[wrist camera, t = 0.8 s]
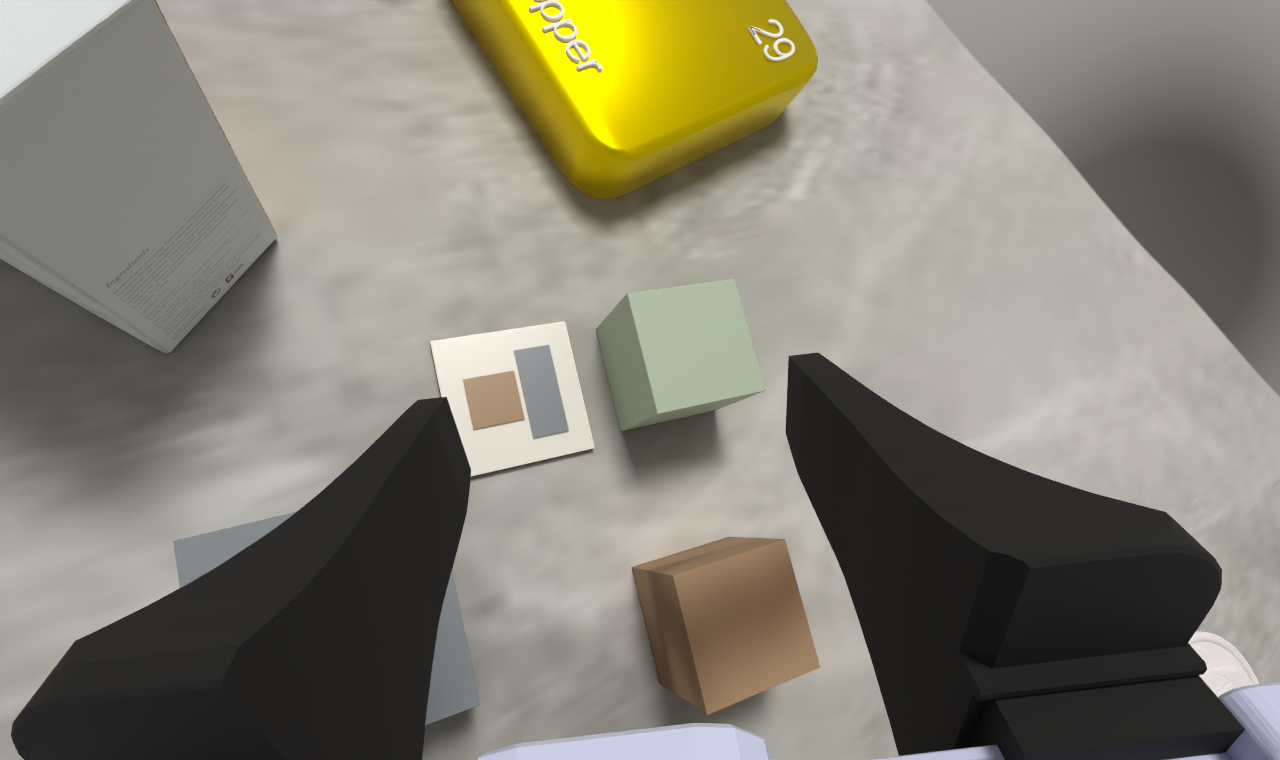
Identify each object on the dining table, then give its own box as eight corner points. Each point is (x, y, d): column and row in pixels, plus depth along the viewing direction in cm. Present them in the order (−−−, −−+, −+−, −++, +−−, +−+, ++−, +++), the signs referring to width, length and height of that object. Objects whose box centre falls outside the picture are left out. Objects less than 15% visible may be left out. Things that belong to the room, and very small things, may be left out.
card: (593, 448, 28) (595, 447, 28) (457, 479, 26) (458, 479, 26) (563, 323, 29) (565, 320, 29) (430, 343, 27) (430, 340, 26)
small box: (282, 237, 26) (159, -13, 14) (170, 359, 24) (-94, 186, 12) (95, 118, 25) (-220, -274, 13) (-43, 234, 22) (-588, -106, 10)
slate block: (472, 681, 25) (479, 704, 22) (244, 763, 22) (212, 804, 19) (431, 485, 26) (432, 479, 23) (208, 538, 23) (173, 541, 20)
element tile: (424, -34, 31) (424, -126, 27) (654, -93, 37) (685, -177, 33) (586, 216, 31) (612, 165, 27) (790, 117, 37) (840, 61, 32)
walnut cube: (756, 644, 29) (819, 667, 24) (658, 682, 27) (707, 714, 22) (728, 537, 29) (784, 539, 25) (631, 566, 28) (672, 575, 23)
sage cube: (714, 410, 31) (765, 390, 26) (620, 431, 29) (657, 413, 24) (688, 314, 31) (734, 278, 27) (595, 329, 30) (627, 293, 25)
